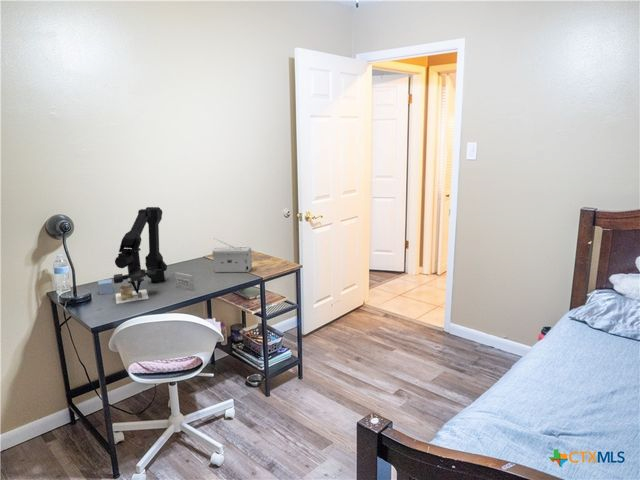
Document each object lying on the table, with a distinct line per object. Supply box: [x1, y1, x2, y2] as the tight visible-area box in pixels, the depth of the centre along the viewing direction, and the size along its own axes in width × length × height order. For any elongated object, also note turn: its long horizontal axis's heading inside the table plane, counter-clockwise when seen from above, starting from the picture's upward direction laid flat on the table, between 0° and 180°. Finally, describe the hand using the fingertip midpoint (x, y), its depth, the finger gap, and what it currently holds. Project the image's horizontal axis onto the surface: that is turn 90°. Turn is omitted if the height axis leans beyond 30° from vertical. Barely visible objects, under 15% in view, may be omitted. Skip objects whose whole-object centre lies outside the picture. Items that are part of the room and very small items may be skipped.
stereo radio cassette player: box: [211, 237, 253, 274], centre depth 249 cm, size 21×8×20 cm, turn 90°
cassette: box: [174, 271, 195, 291], centre depth 224 cm, size 12×2×8 cm, turn 59°
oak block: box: [119, 284, 133, 299], centre depth 212 cm, size 5×5×5 cm
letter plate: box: [115, 288, 149, 304], centre depth 214 cm, size 14×14×1 cm
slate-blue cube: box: [97, 278, 114, 296], centre depth 219 cm, size 6×6×6 cm
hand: (137, 293), depth 214 cm, fingers closed
